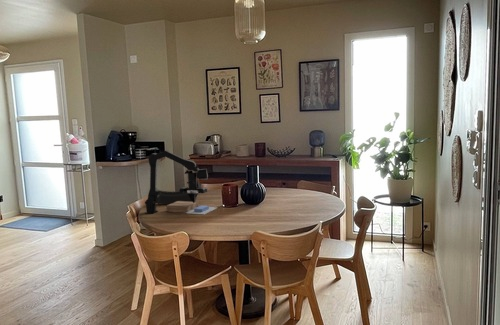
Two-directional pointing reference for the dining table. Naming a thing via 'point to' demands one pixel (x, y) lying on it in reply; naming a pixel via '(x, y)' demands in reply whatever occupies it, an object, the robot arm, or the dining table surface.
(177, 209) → the board
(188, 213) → the mat
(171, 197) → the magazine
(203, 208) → the card box
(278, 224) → the dining table surface
